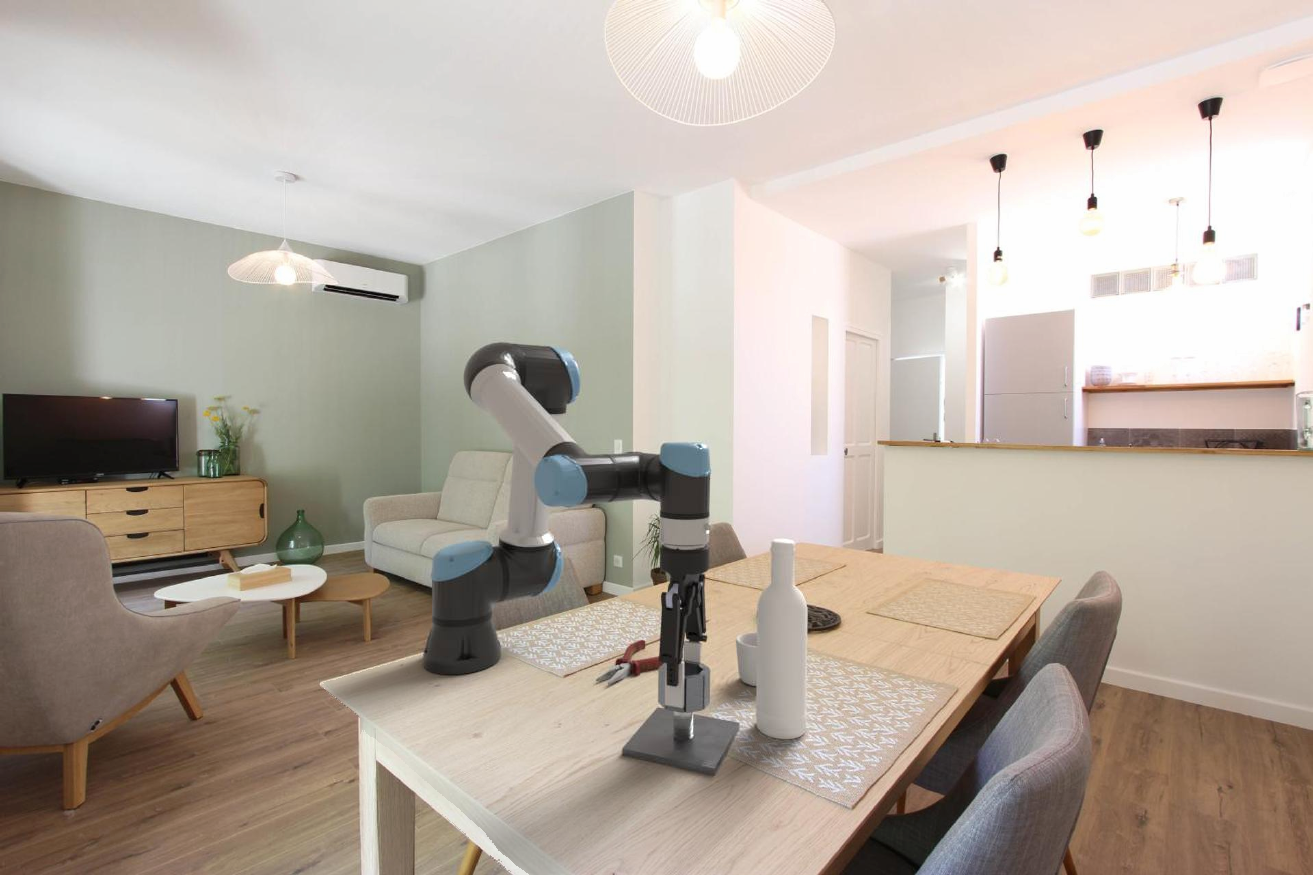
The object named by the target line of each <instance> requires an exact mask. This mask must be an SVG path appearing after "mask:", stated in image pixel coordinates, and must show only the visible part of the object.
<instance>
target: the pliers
mask: <svg viewBox="0 0 1313 875" xmlns="http://www.w3.org/2000/svg"><path fill="white" fill-rule="evenodd" d="M645 649H646V641H645V640H644V639H639V640H637V641H635V642H633V643H631V644H629V645H628V646H627V648H626V649H625V652H624V655H623V657H618V658H616V660H615V663H614V666H613V667H611V668H610V669H608V670H607V671H606V672H604V673H603V674H601V675H600V676H599V677H597V678H596V679H595V682H600V681H605V680H608V682H607V685H611V684H613V683H616V682H618V681H621V680H623V679H626V678H627V677H628V675H632V674H635V675H636V676H640V675H641V673H642V672H648V671H653V670H657V669H658V668H659V667H660V666H662V665H663V664H664V663H663V662H659V655H658V656H654V657H648V658H641V659H632V658H633V656H634V655H635V654H636V653H638V652H641V651H643V650H645ZM682 659H684V653H683V654H682Z"/></svg>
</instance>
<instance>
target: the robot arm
mask: <svg viewBox="0 0 1313 875" xmlns="http://www.w3.org/2000/svg"><path fill="white" fill-rule="evenodd" d="M578 365H579V364H578V363H577V361H576V359H575V358H574V355H572V354H571V353H570V352H569V351H568V350H566V349H564V348H560V347H555V346H550V345H547V346H546V345H537V344H536V345H535V344H523V343H512V342H511V343H510V342H501V341H499V342H492V343H489V344H486V345H484V346H482V347H480V348H479V349H477V350H476V351H475V352H474V353H473V354H472V355H471V356H470V358H469V359H468V361H467V362H466V365H465V367H464V371H463V386H464V390H465V391H466V394H467V395H468V397H469V399H470V400H471V401H472V403H473V404H474V405H475V406H476V407H477V408H478V409H480V410H482V411H485V412H488V413H489V414H490V415H491V417H493V419H494V420H495V421H496V422H497V424H498V425H499V426H500V427H501V428H502V430H503V431H504V432H505V433H506V434H507V436H508V437H509V438H510V439H511V441H513V452H512V453H513V455H512V465H511V466H512V467H511V476H510V478H511V479H510V490H509V501H508V503H509V504H508V513H507V526H506V528H505V529H503V530H502V531H500V533H499V536H498V537H499V538H498V545H497V546H496V545H495V546H493V545H492V543H491V542H490V541H487V540H481V539H480V540H473V541H468V540H467V541H462V542H459V543H458V542H457V543H453V544H450V545H447V546H445V547H443V548H441V549H440V550H438V551H437V552H435V555H434V556H433V558H432V567H431V568H432V570H431V574H430V579H431V609H432V610H431V616H432V618H431V620H432V621H431V628H430V632H429V634H428V637H427V640H426V643H425V644H426V645H425V647H424V650H423V653H422V667H423V668H424V669H425V670H427V671H429V672H430V673H431V672H432V673H435V674H441V675H463V674H470V673H475V672H479V671H482V670H485V669H487V668H489V667H492V666H494V665H495V664H497V663H498V662H499V661H500V660H501V658H502V645H501V643H500V642H501V641H500V640H499V637H498V634H497V631H496V627H495V625H494V621H493V605H494V604H498V603H504V602H509V601H514V600H519V599H526V598H529V597H530V598H534V597H538V596H539V595H543V594H546V593H549V592H551V591H552V590H553V589H555V588H556V586H557V585H558V583H559V582H560V579H561V576H562V573H563V569H564V568H563V567H564V557H563V556H562V549H561V547H560V545H559V544H558V543H557V541H555V536H554V534H553V533H551V531H550V530H549V522H550V514H551V513H550V510H551V507H553V508H557V507H562V508H573V507H577V506H586V505H595V504H604V503H617V502H626V501H636V500H637V501H638V500H642V501H643V500H646V501H655V502H658V503H659V505H660V507H659V508H660V509H659V542H660V543H661V544H662V545H661V546H660V547H659V568H660V570H661V571H662V572H663V573H666V574H668V575H669V576H670V578H669V583H668V585H667V592H665V591H662V592H661V594H660V602H661V612H660V613H661V614H660V615H661V617H660V618H661V619H660V632H659V650H658V651H659V653H658V656H659V662H663V663H665V705H668V706H674V707H679V708H683V707H684V662H683V661H684V660H687V661H694V662H701V663H702V642H703V643H706V642H707V640H708V635H706V632H707V618H706V593H705V585H706V584H705V583H706V574H705V573H706V572H708V571H709V569H710V547H709V546H708V545H707V544H708V543H709V542H710V531H713V528H714V526H713V524H712V523H710V505H711V504H710V502H711V501H710V500H711V499H710V498H711V496H710V495H711V494H710V491H711V474H712V468H711V457H710V449H709V447H708V445H706V444H705V443H704V442H693V441H692V442H688V441H686V442H685V441H683V442H682V441H681V442H680V441H679V442H678V441H677V442H676V441H674V442H669V441H668V442H664V443H662V444H661V446H660V452H659V453H648V452H647V453H646V452H642V451H637V450H636V451H626V452H621V453H603V454H602V453H601V454H590V453H587V452H586V451H585V449H583V448H582V447H581V446H580V445H579V444H578V443H577V442H576V440H574V439H573V437H572V436H570V434H569V433H568V432H567V431H566V430H565V429H564V428H563V427H562V426H561V425H560V423H559V420H561V419H562V418H563V417H564V416H565V415H566V414H567V407H568V406H567V405H570V404H572V403H574V402H575V401H576V400H577V397H578V396H579V394H580V391H581V385H582V384H581V381H582V380H581V372H580V369H579V366H578ZM685 638H686V640H685ZM682 654H683V658H682ZM682 660H683V661H682Z"/></svg>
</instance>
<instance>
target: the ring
mask: <svg viewBox="0 0 1313 875" xmlns="http://www.w3.org/2000/svg"><path fill="white" fill-rule="evenodd" d="M682 661H683V662H684V707H683V708H679V707H674V706H668V705H665V663H664V664H663V665H662V666H660V667H659V668H658V673H657V674H658V675H657V677H658V680H657V703H658V704H659V705H660V706H661V708H664V709H667V710H670V711H675V712H680V713H684V712H685V713H691V712H693V713H697V712H702V711H703V710H704V711H705V710H706V708H707V707H708V705H709V704H710V703H711V669H710V668H709V666H707V665H705V664H704V663H703V662H702V661H701V662H694V661H687V660H684V659H682Z"/></svg>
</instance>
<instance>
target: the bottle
mask: <svg viewBox="0 0 1313 875" xmlns="http://www.w3.org/2000/svg"><path fill="white" fill-rule="evenodd" d="M770 543H771V546H770V548H769V549H770V550H769V551H770V554H771V555H770V584H769V585H768V586H767V587H765V588H764V589H763V590H762V592H761V593H760V596H759V598H758V601H757V608H756V609H757V616H756V618H757V619H756V620H757V622H756V623H757V625H756V628H757V629H756V633H757V686H756V705H755V720H756V722H755V723H756V728H757V729H758V730H759V732H760V733H761V734H763V735H765V736H767V737H769V738H773V739H777V740H794V739H798V738H800V737H801V736H803V735H804V734H805V733H806V730H807V720H808V719H807V717H808V712H807V684H808V683H807V681H808V679H807V678H808V677H807V669H808V668H807V666H808V661H807V660H808V659H807V658H808V606H807V601H806V598H805V596H804V594H803V592H802V591H801V589H799V588H798V587H797V586H796V585H795V554H796V547H795V546H796V543H795V541H794V540H791V539H787V538H775V539H773V540H772V541H771V542H770Z"/></svg>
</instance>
